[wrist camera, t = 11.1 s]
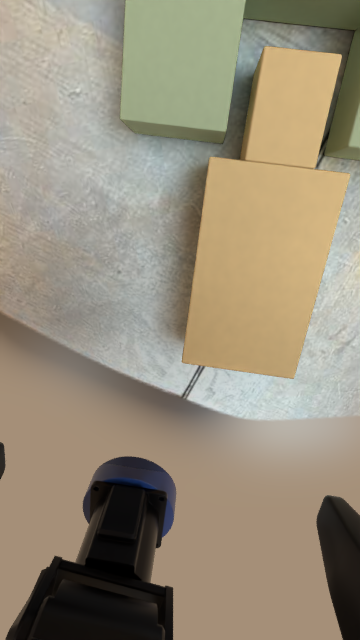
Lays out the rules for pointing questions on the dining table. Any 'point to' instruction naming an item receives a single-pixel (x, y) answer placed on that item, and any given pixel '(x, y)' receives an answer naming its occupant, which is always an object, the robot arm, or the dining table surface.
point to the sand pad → (267, 223)
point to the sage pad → (218, 65)
